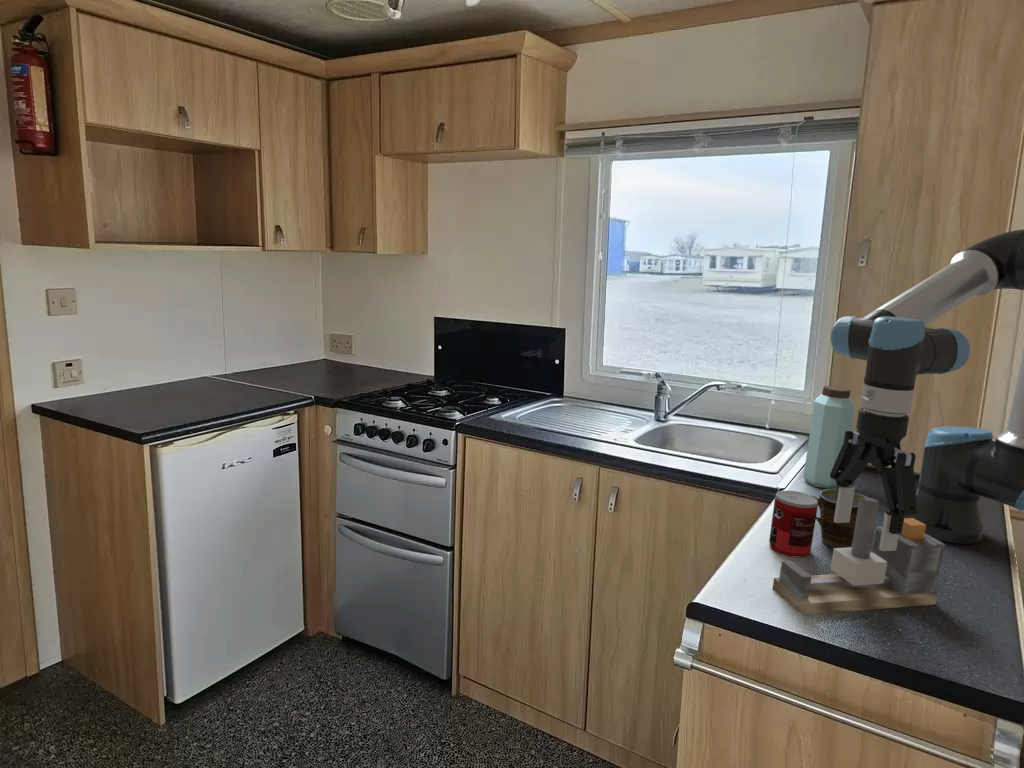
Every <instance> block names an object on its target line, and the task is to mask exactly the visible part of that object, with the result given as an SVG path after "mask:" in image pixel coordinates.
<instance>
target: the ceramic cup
mask: <svg viewBox="0 0 1024 768" xmlns="http://www.w3.org/2000/svg"><path fill="white" fill-rule="evenodd" d="M818 494H819V498H818V497H816V495H812V494H811V495H810V494H809V495H810V496H812V497H814V498H816V499H817V500H818V508H819V509H820V510H819V512H820V513H819V514H820V517H818V516H816V520H817V522H818V524H819V526H820V533H821V535H820V537H821V542H822V544H825V545H826V546H828V547H830V548H832V547H833V548H832V549H834V548H848V547H852V542H853V536H854V529H855V523H856V517H857V511H858V505H859V499H860V498H861V497H867V496H866V495H863V494H861V493H858V492H855V491H854V497H853V503H852V510H851V516H850V522H848V523H835V522H834V516H835V509H836V503H837V502H836V494H837V488H834V489H826V488H825V489H822V490H821V491H819V493H818Z"/></svg>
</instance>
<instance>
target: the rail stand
mask: <svg viewBox="0 0 1024 768" xmlns="http://www.w3.org/2000/svg"><path fill="white" fill-rule="evenodd" d="M882 527H883V526H875V528H876V529H875V532H874V538H873V544H872V550H871V552H872V553H874V554H876V555H877V556H879V557H880V558H882V559H884V560H885V561H887V567H886V573H885V579H884V584H870V585H856V586H853V585H852V584H850V583H849V582H847V581H846V580H845V579H843V578H842V577H840V576H839V575H838V574H836V573H829V574H817V575H815V574H813V575H811V574H809V573H807V572H806V571H804V570H803V569H802V568H801V567H799V565H797V564H796V563H795V562H793V561H792V560H790V559H789V560H782V561H781V565H780V571H779V577H774V578H773V582H772V589H773V590H774V591H775V592H776V593H777V594H778V595H779V596H780V597H782V598H783V599H784V600H785V601H786V602H788V603H789V604H790V605H791V606H793V607H794V608H795V609H796V610H797V611H798V612H799V613H800V614H801V615H803V616H809V615H819V614H830V613H831V614H833V613H845V612H847V613H848V612H858V611H869V610H871V611H872V610H881V609H883V610H884V609H892V608H893V609H895V608H907V607H920V606H921V607H922V606H929V605H931V606H932V605H936V604H937V600H938V599H937V598H938V593H937V592H936V591H937V587H938V586H937V585H938V582H939V581H938V580H939V575H940V572H941V571H940V570H941V566H942V561H943V555H944V550H945V546H946V545H945V543H943V541H941V540H937V539H934V538H933V537H931V536H929V535H927V534H924V539H919V540H908V539H906V538H904V537H902V536H901V535H899V537H898V542H897V548H896V550H894V551H881V550H879V545H880V539H881V533H882Z"/></svg>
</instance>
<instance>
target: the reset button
mask: <svg viewBox="0 0 1024 768" xmlns="http://www.w3.org/2000/svg"><path fill="white" fill-rule="evenodd" d="M925 528H926V525H925V524H923V523H921V522H920V521H918V520H916V519H914V518H905V519H904V523H903V528H902V532H901V534H899V535H901V536H902V537H904V538H906V539H908V540H919V539H924V534H925Z"/></svg>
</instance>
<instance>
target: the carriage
mask: <svg viewBox="0 0 1024 768" xmlns="http://www.w3.org/2000/svg"><path fill="white" fill-rule="evenodd" d="M879 505H880V502H879V500H877V499H875V498H871V497H868V496H866V497H861V498H860V499H859V505H858V511H857V517H856V523H855V529H854V536H853V542H852V547H848V548H833V551H832V557H831V563H830V571H832V572H833V573H834V574H838V575H839V576H840V577H842V578H843V579H845V580H846V581H847V582H849V583H850V584H852V585H853V586H856V585H870V584H884V579H885V573H886V567H887V561H885V560H884V559H882V558H880V557H879V556H877V555H876V554H874V553H872V548H873V542H874V536H875V530H876V529H875V528H876V522H877V516H878V509H879V507H880V506H879Z"/></svg>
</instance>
